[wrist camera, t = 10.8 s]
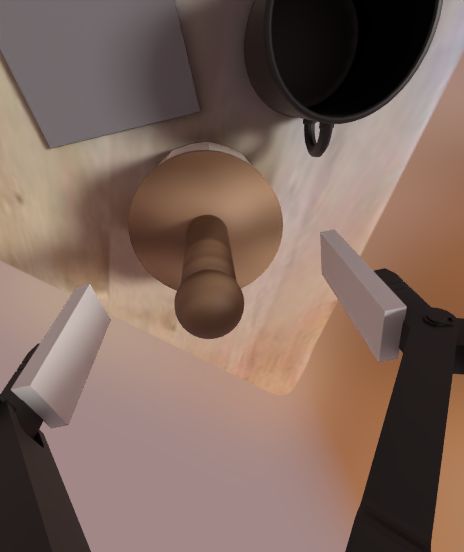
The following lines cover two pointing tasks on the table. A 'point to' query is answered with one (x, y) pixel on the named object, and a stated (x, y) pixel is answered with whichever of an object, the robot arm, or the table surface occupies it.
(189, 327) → the lid
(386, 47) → the mug
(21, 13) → the mat
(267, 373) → the table surface
